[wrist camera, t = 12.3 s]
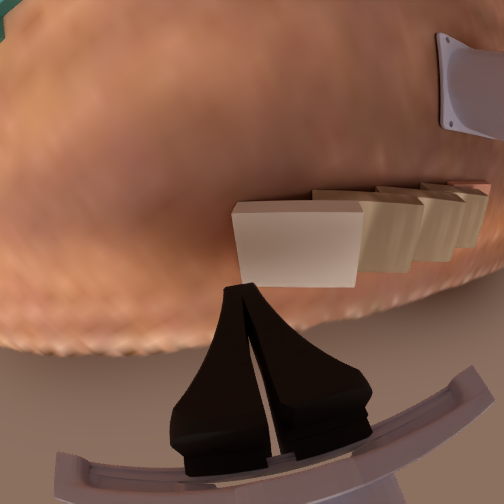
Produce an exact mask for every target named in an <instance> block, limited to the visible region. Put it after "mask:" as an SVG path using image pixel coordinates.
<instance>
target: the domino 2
mask: <svg viewBox="0 0 504 504" xmlns="http://www.w3.org/2000/svg"><path fill="white" fill-rule="evenodd" d="M375 192H377V193H391V194H404V195H415V196H417V197H418V199H419V200H420V201H421V202H422V203H423V204H424V205H425V206H424V212H423V217H422V222H421V226H420V231H419V235H418V239H417V243H416V247H415V251H414V255H413V259H412V261H437V262H450V261H451V258H452V255H453V252H454V248H455V245H456V242H457V238H458V235H459V231H460V228H461V224H462V220H463V216H464V212H465V208H466V202H465V201H464V200H463V199H462V198H461V197H459V196H458V195H457V194H451V193H444V192H436V191H427V190H418V189H408V188H397V187H385V186H375Z"/></svg>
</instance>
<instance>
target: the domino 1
mask: <svg viewBox="0 0 504 504" xmlns="http://www.w3.org/2000/svg"><path fill="white" fill-rule="evenodd" d="M312 200H349V201H359V203H360V205H361V207H362V210H363V212H364V216H363V227H362V236H361V245H360V253H359V261H358V268H357V272H392V273H409V270H410V266H411V263H412V259H413V255H414V251H415V247H416V243H417V239H418V235H419V231H420V226H421V222H422V217H423V212H424V206H425V205H424V204H423V203H422V202H421V201H420V200H419V199H418V197H417V196H415V195H404V194H391V193H377V192H361V191H339V190H312Z"/></svg>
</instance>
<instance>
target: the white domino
mask: <svg viewBox="0 0 504 504" xmlns="http://www.w3.org/2000/svg"><path fill="white" fill-rule="evenodd" d="M231 216H232V222H233V229H234V235H235V242H236V248H237V254H238V260H239V267H240V273H241V279H242V284H245V283H251V282H253V283H254V284H255V285H256V286H260V287H355V281H356V275H357V268H358V261H359V253H360V245H361V236H362V227H363V216H364V212H363V210H362V207H361V205H360V203H359V201H349V200H289V201H249V202H237V204H236V206H235V207H234V209H233V211H232V213H231Z"/></svg>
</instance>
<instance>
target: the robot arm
mask: <svg viewBox="0 0 504 504" xmlns="http://www.w3.org/2000/svg"><path fill="white" fill-rule="evenodd" d="M437 45H438V54H439V66H440V87H441V115H440V124H441V127H442V128H444V129H447V130H453V131H459V132H464V133H469V134H474V135H478V136H483V137H487V138H491V139H498V140H501V141H503V142H504V52H499V51H491V50H481V49H472V48H471V47H469V46H467V45H465V44H463V43H462V42H460V41H458V40H456V39H454V38H452V37H450V36H448V35H446V34H444V33H437ZM223 291H224V294H223V303H222V309H221V313H220V317H219V322H218V325H217V328H216V331H215V334H214V338H213V340H212V343H211V345H210V348H209V350H208V353H207V355H206V357H205V359H204V361H203V363H202V365H201V367H200V369H199V371H198V373H197V374H196V376H195V378H194V379H193V381H192V383H191V384H190V386H189V387H188V389H187V391H186V392H185V393H184V395H183V396H182V397H181V399H180V400H179V401H178V403H177V404H176V405H175V407H174V408H173V411H172V416H171V421H170V445H171V447H172V448H173V449H175V450H176V451H177V452H179V453H180V454H181V455H182V456H184V466H185V468H147V467H129V466H118V465H109V464H101V463H94V462H89V461H88V460H86V459H84V458H82V457H80V456H77V455H73V454H68V453H63V452H59V451H58V452H57V453H56V465H55V477H54V498H55V499H58V500H61V501H64V502H67V503H70V504H406V501H405V499H404V496H403V494H402V492H401V489H400V487H399V484H398V482H397V479H396V477H395V475H394V472H396V471H398V470H400V469H402V468H404V467H406V466H408V465H409V464H411V463H413V462H415V461H417V460H418V459H420V458H422V457H423V456H425V455H427V454H428V453H430V452H431V451H433V450H434V449H436V448H437V447H439V446H440V445H442V444H443V443H445V442H446V441H448V440H449V439H450V438H452V437H453V436H455V435H456V434H458V433H459V432H460V431H462V430H463V429H464V428H465V427H467V426H468V425H469V424H470V423H471V422H473V421H474V420H475V419H477V418H478V417H479V416H480V415H481V414H482V413H483V412H485V411H486V410H487V409H488V408H489V407H490V406H491V405H492V404H494V403H495V399H494V397H493V396H492V394H491V393H490V391H489V390H488V388H487V386H486V385H485V383H484V382H483V380H482V379H481V377H480V376H479V374H478V373H477V371H476V370H475V369H474V367H473V366H472V365H471V366H470V367H468V368H467V369H465V370H464V371H462V372H461V373H459V374H458V375H457V376H456V377H454V378H453V379H452V380H451V382H450V383H449V385H448V386H447V387H445V388H444V389H442V390H440V391H439V392H437V393H435V394H434V395H432V396H430V397H429V398H427V399H425V400H423V401H421V402H420V403H418V404H416V405H414V406H412V407H410V408H408V409H406V410H404V411H402V412H400V413H399V414H396V415H394V416H392V417H390V418H388V419H386V420H384V421H381V422H379V423H377V424H375V425H373V426H370V424H369V422H368V420H367V416H368V413H367V411H366V409H365V406H366V405H367V403H368V401H369V400H370V398H371V396H372V389H371V387H370V385H369V383H368V381H367V380H366V379H365V377H364V376H363V374H362V373H361V372H360V371H359V370H358V369H356V368H353V367H351V366H349V365H347V364H345V363H343V362H341V361H339V360H337V359H335V358H333V357H332V356H330V355H328V354H326V353H325V352H323V351H322V350H320V349H318V348H317V347H315V346H314V345H313V344H311V343H310V342H308V341H307V340H306V339H305V338H303V337H302V336H301V335H299V334H298V333H297V332H296V331H295V330H294V329H292V328H291V327H290V326H289V325H288V324H287V323H286V322H285V321H284V320H283V319H282V318H281V317H280V316H279V315H278V314H277V313H276V312H275V310H274V309H273V308H272V307H271V306H270V305H269V303H268V302H267V301H266V300H265V298H264V297H263V296H262V294H261V293H260V291H259V290H258V288H257V287H256V285H255V284H254V283H253V282H251V283H245V284H240V285H234V286H229V287H225V288H224V289H223ZM248 337H249V340H250V343H251V346H252V348H253V352H254V354H255V358H256V360H257V363H258V366H259V369H260V372H261V375H262V378H263V382H264V386H265V390H266V394H267V398H268V402H269V407H270V411H271V415H272V419H273V423H274V427H275V432H276V436H277V440H278V444H279V448H280V452H281V455H278V456H274V457H272V453H271V442H270V435H269V427H268V422H267V418H266V414H265V410H264V406H263V403H262V399H261V396H260V392H259V388H258V384H257V381H256V376H255V373H254V368H253V365H252V360H251V357H250V348H249V340H248ZM354 450H355V451H354ZM352 451H353V452H352ZM349 452H352V456H351V457H350V458H345V459H341V460H338V461H335V462H331V463H328V464H325V465H322V466H319V467H316V468H312V469H309V470H305V471H301V472H297V473H293V474H289V475H285V476H280V477H275V478H270V479H265V480H260V481H255V482H250V483H246V484H242V485H236V486H230V487H223V488H217V487H216V485H214V484H204V483H216V482H217V483H218V482H227V481H236V480H243V479H250V478H256V477H262V476H267V475H272V474H277V473H282V472H286V471H290V470H294V469H298V468H302V467H306V466H309V465H313V464H316V463H320V462H323V461H326V460H329V459H332V458H335V457H338V456H341V455H344V454H346V453H349Z"/></svg>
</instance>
